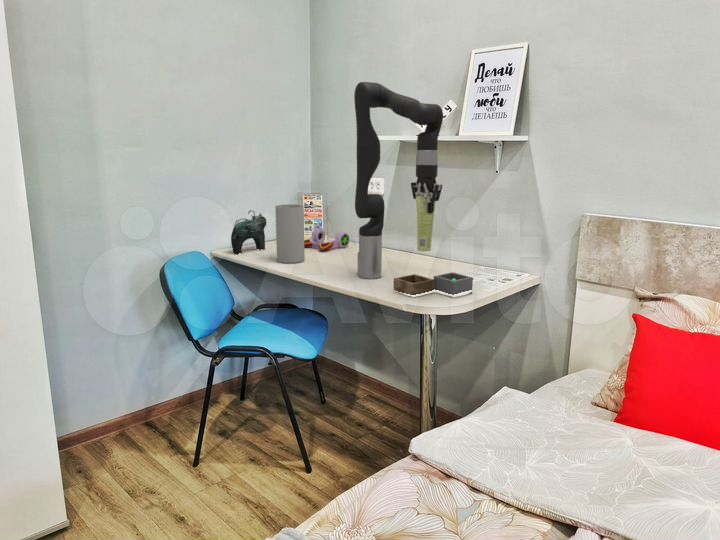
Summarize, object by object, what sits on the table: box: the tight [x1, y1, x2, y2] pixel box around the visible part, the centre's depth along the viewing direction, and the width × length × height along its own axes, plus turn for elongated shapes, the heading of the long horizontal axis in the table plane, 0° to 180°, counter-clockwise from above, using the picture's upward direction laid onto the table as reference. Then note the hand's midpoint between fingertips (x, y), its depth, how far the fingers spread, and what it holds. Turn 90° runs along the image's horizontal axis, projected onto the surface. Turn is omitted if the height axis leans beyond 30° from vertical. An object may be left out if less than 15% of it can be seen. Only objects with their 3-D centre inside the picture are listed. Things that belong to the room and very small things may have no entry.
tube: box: [415, 195, 437, 252], centre depth 200 cm, size 6×5×20 cm
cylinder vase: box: [275, 203, 306, 264], centre depth 253 cm, size 12×12×25 cm
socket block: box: [433, 271, 474, 295], centre depth 205 cm, size 10×10×7 cm
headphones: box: [304, 227, 351, 251], centre depth 286 cm, size 20×10×20 cm
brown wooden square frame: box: [393, 273, 435, 295], centre depth 206 cm, size 10×10×5 cm
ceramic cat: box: [230, 210, 267, 255], centre depth 274 cm, size 20×6×20 cm, turn 139°
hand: (425, 212), depth 199 cm, fingers closed on tube, 4 cm apart
